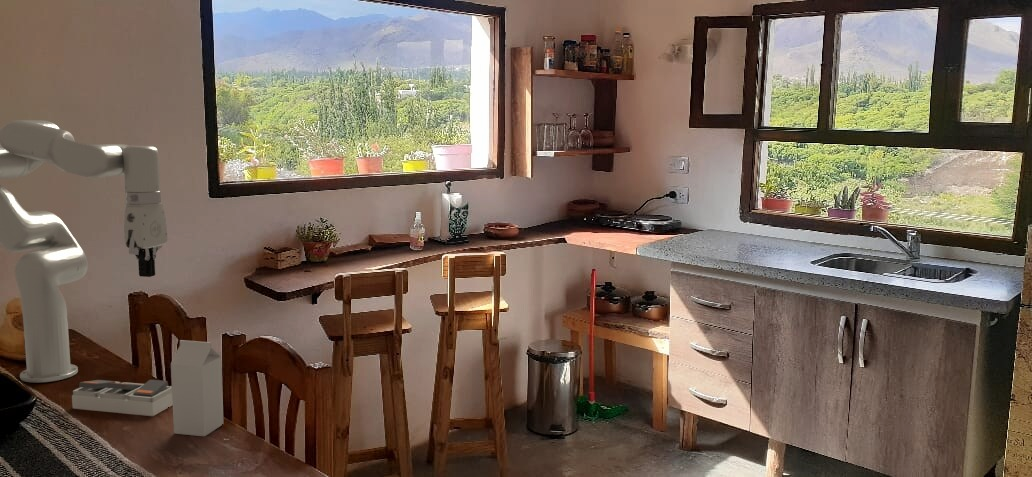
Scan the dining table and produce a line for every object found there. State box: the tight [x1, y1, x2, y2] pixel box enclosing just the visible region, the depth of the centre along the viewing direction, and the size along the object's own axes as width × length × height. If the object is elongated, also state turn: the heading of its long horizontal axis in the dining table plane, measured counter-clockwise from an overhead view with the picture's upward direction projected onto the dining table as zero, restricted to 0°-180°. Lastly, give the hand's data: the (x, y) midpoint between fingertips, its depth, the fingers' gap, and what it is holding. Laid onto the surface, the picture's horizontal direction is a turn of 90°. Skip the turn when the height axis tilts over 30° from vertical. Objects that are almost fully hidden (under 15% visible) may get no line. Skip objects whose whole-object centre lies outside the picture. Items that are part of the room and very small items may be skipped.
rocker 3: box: [133, 379, 169, 397], centre depth 183 cm, size 4×6×1 cm
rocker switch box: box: [71, 380, 173, 417], centre depth 185 cm, size 20×8×4 cm, turn 79°
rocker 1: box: [78, 379, 116, 389], centre depth 186 cm, size 4×6×1 cm
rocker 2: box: [106, 382, 140, 390], centre depth 184 cm, size 4×6×1 cm
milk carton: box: [170, 339, 224, 437], centre depth 170 cm, size 7×7×19 cm
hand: (147, 275), depth 195 cm, fingers closed
